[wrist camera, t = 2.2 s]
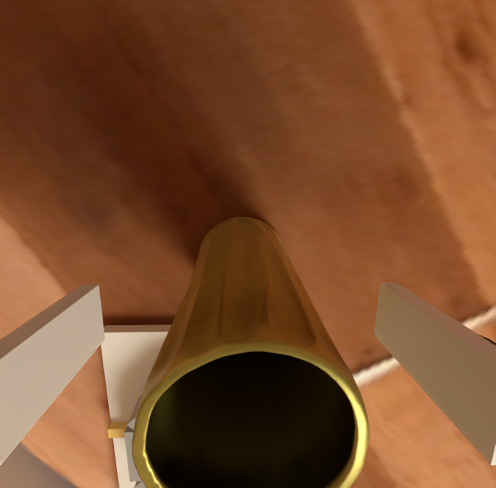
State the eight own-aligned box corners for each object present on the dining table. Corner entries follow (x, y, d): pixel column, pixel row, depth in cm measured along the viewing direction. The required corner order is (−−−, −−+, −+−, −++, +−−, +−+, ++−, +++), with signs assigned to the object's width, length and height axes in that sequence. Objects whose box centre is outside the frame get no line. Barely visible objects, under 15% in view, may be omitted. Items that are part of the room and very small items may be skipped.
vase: (180, 259, 20) (47, 452, 6) (243, 197, 19) (258, 255, 5) (241, 315, 21) (249, 586, 7) (303, 259, 20) (448, 444, 6)
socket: (105, 325, 21) (79, 354, 17) (322, 322, 21) (338, 350, 18) (126, 493, 25) (108, 544, 21) (310, 487, 25) (321, 535, 22)
